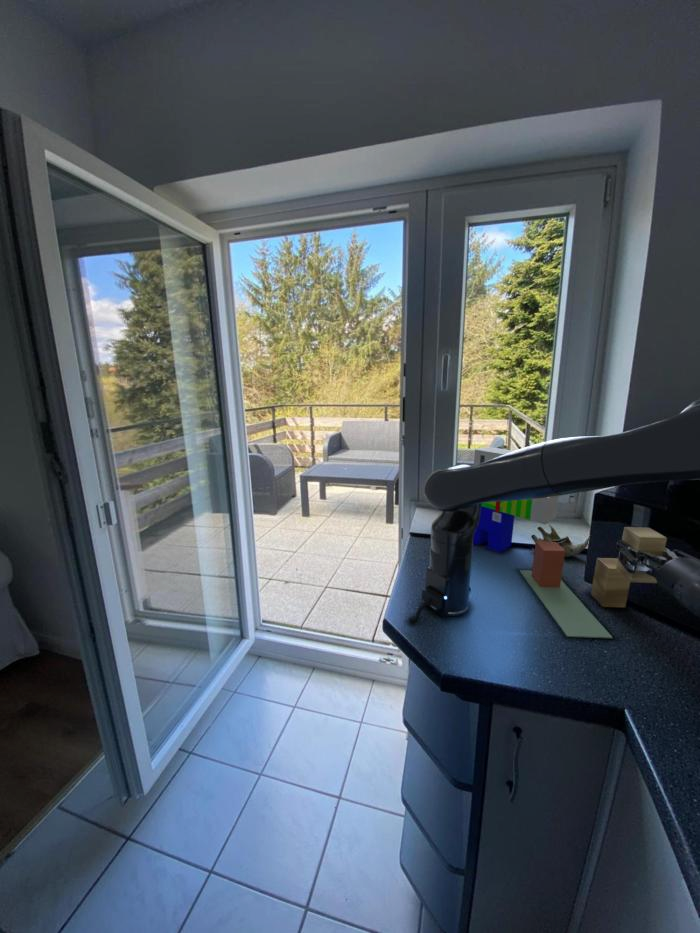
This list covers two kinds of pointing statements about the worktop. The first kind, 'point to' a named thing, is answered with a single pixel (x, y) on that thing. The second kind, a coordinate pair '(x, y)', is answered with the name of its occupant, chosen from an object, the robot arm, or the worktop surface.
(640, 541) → the maple block
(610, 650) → the worktop surface
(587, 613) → the mat
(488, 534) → the toy
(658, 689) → the worktop surface
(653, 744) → the worktop surface
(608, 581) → the maple block
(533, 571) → the terracotta block
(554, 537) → the jawbone
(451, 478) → the robot arm
